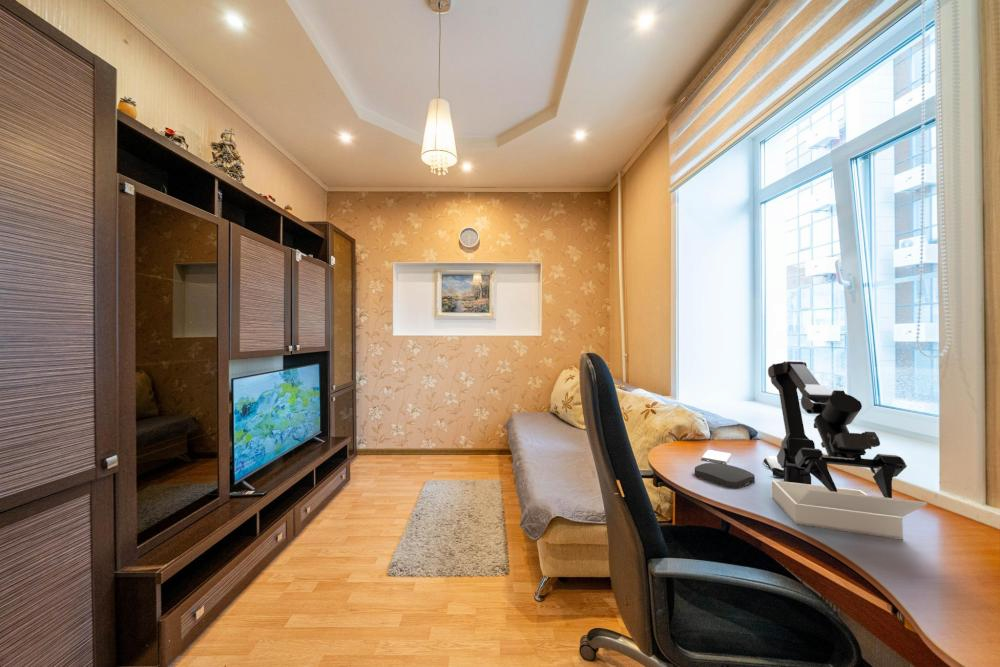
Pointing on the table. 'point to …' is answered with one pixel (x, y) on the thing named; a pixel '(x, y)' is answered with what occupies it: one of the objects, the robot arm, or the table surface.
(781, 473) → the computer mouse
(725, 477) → the media streaming box
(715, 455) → the external hard drive
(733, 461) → the table surface
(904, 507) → the box flap
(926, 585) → the table surface
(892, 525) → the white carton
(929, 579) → the table surface
